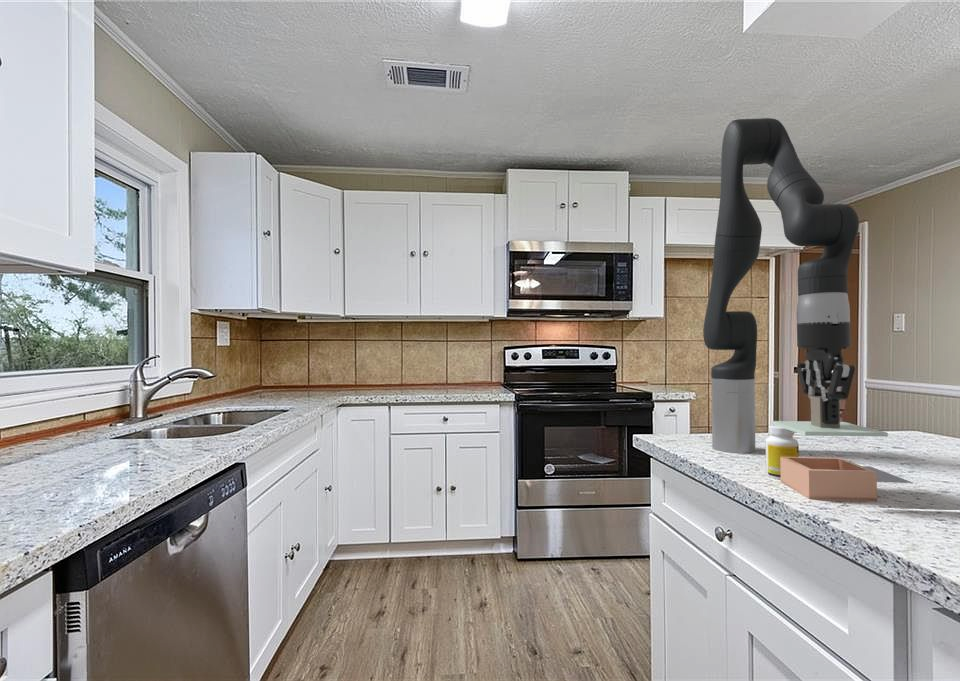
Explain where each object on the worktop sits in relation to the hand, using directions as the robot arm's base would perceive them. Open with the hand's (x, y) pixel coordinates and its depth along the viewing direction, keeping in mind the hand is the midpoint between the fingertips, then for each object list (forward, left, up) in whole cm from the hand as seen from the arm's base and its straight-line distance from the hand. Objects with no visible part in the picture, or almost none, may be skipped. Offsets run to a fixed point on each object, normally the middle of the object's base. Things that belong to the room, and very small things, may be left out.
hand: (824, 422), depth 85 cm
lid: (0, 0, -1) cm, 1 cm away
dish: (0, 0, -12) cm, 12 cm away
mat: (-13, +12, -12) cm, 22 cm away
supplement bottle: (-9, -3, -12) cm, 16 cm away
